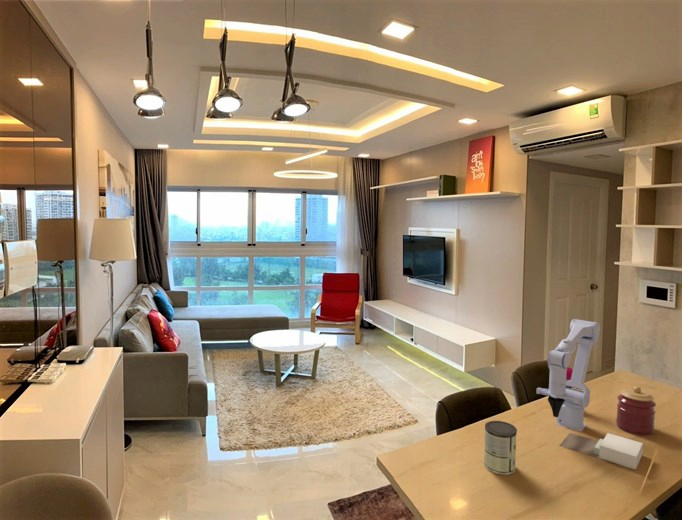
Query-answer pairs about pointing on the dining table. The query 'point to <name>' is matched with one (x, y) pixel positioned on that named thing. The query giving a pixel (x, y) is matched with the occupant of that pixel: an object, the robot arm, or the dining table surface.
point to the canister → (636, 411)
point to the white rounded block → (621, 450)
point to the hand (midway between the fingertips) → (555, 416)
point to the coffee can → (500, 447)
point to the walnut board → (583, 446)
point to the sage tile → (597, 447)
